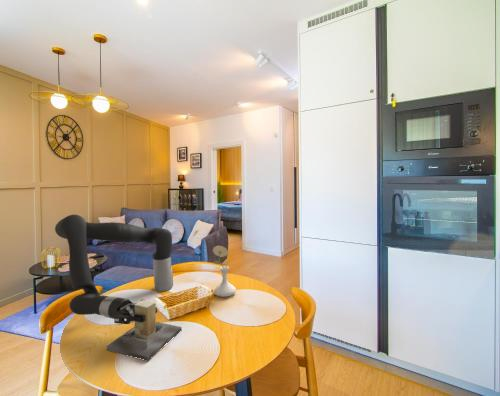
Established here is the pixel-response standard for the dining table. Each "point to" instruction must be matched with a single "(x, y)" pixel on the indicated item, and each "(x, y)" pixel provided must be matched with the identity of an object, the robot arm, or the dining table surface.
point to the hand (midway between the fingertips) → (150, 314)
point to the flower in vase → (223, 274)
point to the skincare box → (149, 325)
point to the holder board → (144, 342)
